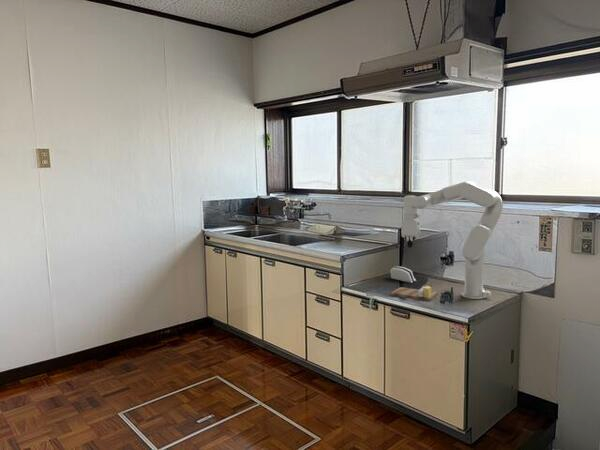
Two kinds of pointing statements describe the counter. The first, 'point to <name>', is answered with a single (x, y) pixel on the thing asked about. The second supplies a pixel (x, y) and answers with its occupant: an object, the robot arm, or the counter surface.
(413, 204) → the robot arm
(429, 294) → the keeper block
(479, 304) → the counter surface
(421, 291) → the latch bar
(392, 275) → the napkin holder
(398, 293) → the brown wooden board
